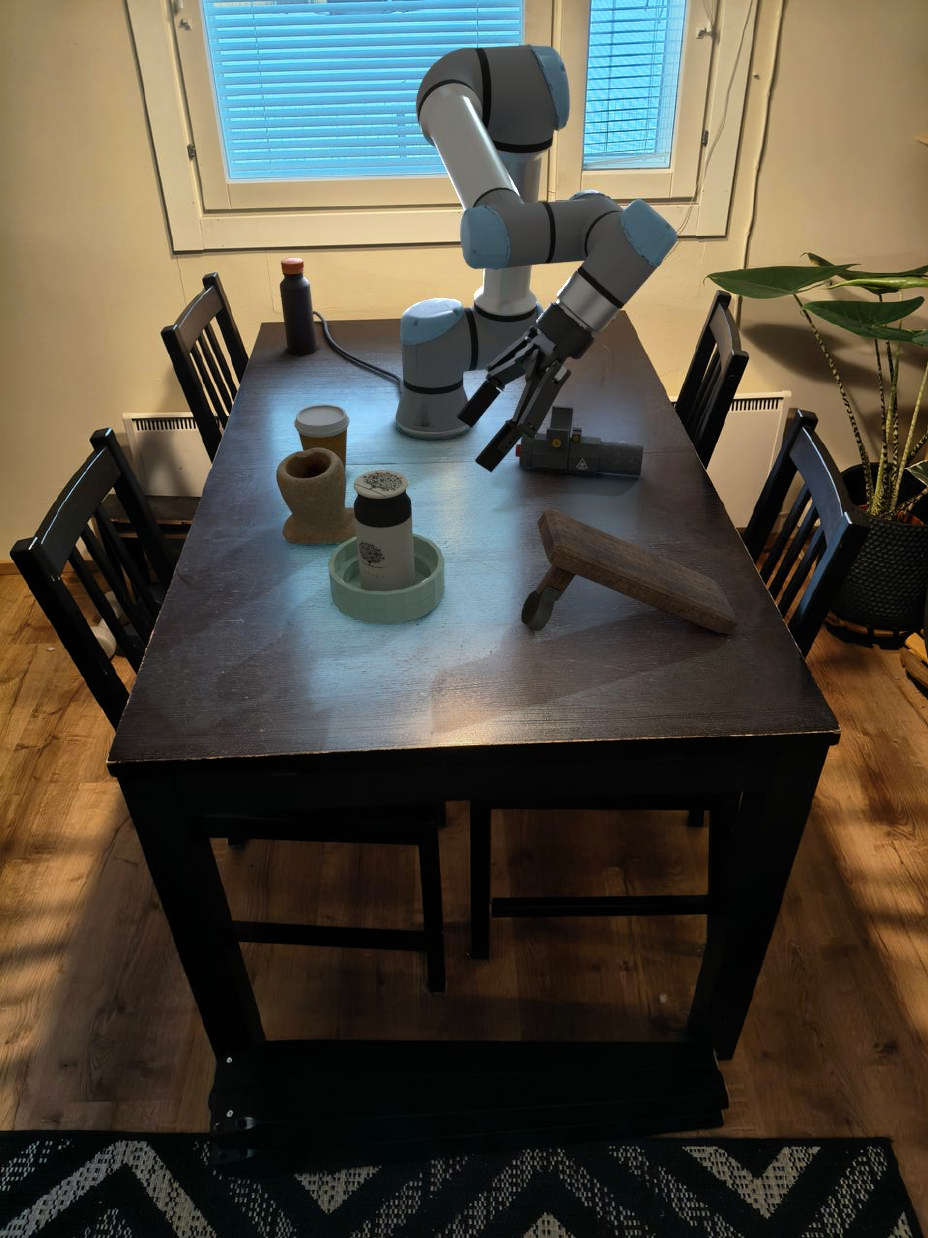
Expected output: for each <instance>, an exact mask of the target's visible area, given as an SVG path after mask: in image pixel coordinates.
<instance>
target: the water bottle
mask: <svg viewBox="0 0 928 1238" xmlns="http://www.w3.org/2000/svg"><path fill="white" fill-rule="evenodd" d="M280 266H281V272H282V275H283V279H282V280H281V281H280V283H279V292H280V293H279V294H280V299H281V308H282V318H283V323H284V332H285V338H286V340H285V341H286V347H287V351H288V352H289V353H291V354H295V355H305V354H310V353H313V352H314V351H315V350H316V349H317V347H318V346H317V338H316V327H315V320H314V319H315V318H314V315H313V311H314V309H313V300H312V299H313V298H312V291H311V282H310V281H309V280H308V279H307V278H306V277H305V276H304V274H305V263H304V260H303V259H302V258H299V257H288V258H284V259H282V260H281V261H280Z"/></svg>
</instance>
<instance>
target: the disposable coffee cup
mask: <svg viewBox="0 0 928 1238" xmlns="http://www.w3.org/2000/svg"><path fill="white" fill-rule="evenodd" d="M350 422H351V421H350V418H349V416H348V415H347V412H346V410H345V409H344V408H343V407H341V406H339V405H336V404H327V403H326V404H325V403H324V404H323V403H321V404H314V405H309V406H306V407H304V408H302V409H300V410H299V411H298V412H296V414H295V419H294V422H293V425H294V428H295V430H296V431H297V432H298V433H297V434H298V436H299V440H300V444H301V447H302V451H305V450H309V449H312V448H324V449H327V450H330V451H332V452H334V453H335V454H336V455H337V456H338V457H339V458H340V460H341V461H342V463H343V466H344V469H345V471H346V470H347V469H346V467H347V447H348V446H347V444H348V437H347V436H348V427H349V424H350Z"/></svg>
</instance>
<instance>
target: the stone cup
mask: <svg viewBox="0 0 928 1238" xmlns="http://www.w3.org/2000/svg"><path fill="white" fill-rule="evenodd" d="M275 478H276V483H277V487H278V490H279V493H280V496H281V497H282V499H283V502H284V503H285V505H286V506H287V508H288V509H289V511H290V513H291V514H290V515H288V517H287V519H286V520H285V522H284V524H283V526H282V536H283V537H284V539H285V541H286V542H288V543H290V544H292V545H293V544H294V545H304V546H305V545H306V546H307V545H308V546H311V545H312V546H313V545H317V546H318V545H335V544H342V543H344V542H346V541H347V540H349V539H351V538H353V537H356V526H355V515H354V506H353V507H352V506H350V507H349V506H348V507H347V506H346V498H347V497H346V495H347V474H346V470H345V469H344V466H343V463H342V461H341V460H340V458H339V457H338V456H337V455H336V454H335V453H334V452H332V451H330V450H327V449H324V448H312V449H309V450H305V451H303V450H298V451H295V452H292V453H290V454H288V455H287V456H286V457H285V458H283V459H282V461H280V463H279V464H278V466H277V468H276V472H275Z"/></svg>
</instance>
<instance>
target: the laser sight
mask: <svg viewBox="0 0 928 1238" xmlns="http://www.w3.org/2000/svg"><path fill="white" fill-rule="evenodd" d="M551 408H552V409H551V418H550V425H549V427H546V432H545V433H544V432H543V433H542V432H537V434H536V436H535V437H534V438H533V439H530V438H529V437H526V436H525V437H524V436H522V437H521V438H520V443H516V444H515V453H514V455H515V456H514V457H516V458H518V460H519V461H518V463H519V468H532V470H533V471H536V472H547V473H548V472H549V473H558V474H559V473H560V474H573V475H586V476H596V477H597V476H598V473H601V474H602V473H603V474H614V475H623V476H624V475H625V476H638V477H641V473H642V465H643V458H644V457H643V456H644V447H645V444H644V443H633V442H621V441H620V442H617V441H607V440H605V441H604V440H602V439H601V437H596V436H584V435H583V427H573V418H574V417H573V415H574V406H563V405H552V406H551ZM582 435H583V436H582Z"/></svg>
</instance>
